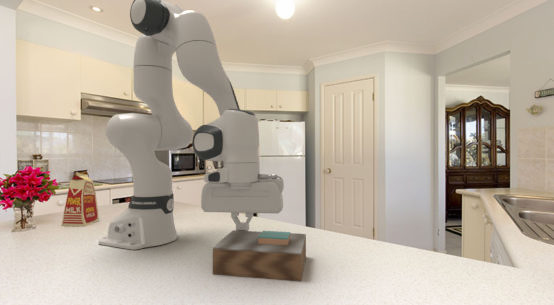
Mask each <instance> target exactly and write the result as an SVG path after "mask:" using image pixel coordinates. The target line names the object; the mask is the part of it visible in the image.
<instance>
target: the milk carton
mask: <svg viewBox="0 0 554 305" xmlns="http://www.w3.org/2000/svg"><path fill="white" fill-rule="evenodd" d="M65 200H66V201H65V205H64V209H63V214H62V215H63V216H62V220H61V221H62V222H61V227H86V226H87V227H88V226H90V225H93V224H95V223H96V222H99V221H100V219H99V207H98V201H97V194H96V188H95V183H94V180H92V179H91V178H90V177H89V175H88V174H85V173H82V172H81V173H80V172H79V171H76V172H75V175H74V176H73V177H72V178H71V179H70V183H69V185H68V191H67V194H66V199H65Z"/></svg>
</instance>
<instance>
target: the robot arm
mask: <svg viewBox="0 0 554 305" xmlns="http://www.w3.org/2000/svg"><path fill="white" fill-rule="evenodd" d="M129 10H130V12H129V18H130V22H131V25H132V26H133V28H134V29H135V30H136V31H138V32H139V33H140V34H141V35H139V36H138V38H137V41H136V43H135V48H134V55H133V66H132V67H133V69H132V70H133V76H132V77H133V80H132V82H133V90H132V91H133V93H134V95H135V96H136V98H137V99H138V100H140V102H142V103H144V104H145V105H147V107H148V108H149V110H150V112H151V114H146V113H145V114H144V113H136V112H129V113H128V112H127V113H120V114H119V113H118V114H114V115H112V117H110V119H109V120H108V121H107V123H106V127H105V136H106V138H107V140H108V142H109V144H111V146H112V147H114V148H116V149H117V150H118V151H119V152H120V153H121V154H122V155H124V157H125V158H126V160H127V162H128V164H129V165H130V168H131V173H132V182H133V183H132V184H133V195H131V196H130V197H128V198H125V203H128V206H127V208H126V209H125V210H123V211H122V212H121V213H119V214H118V215H117V216H115V218H113V219H112V220H111V221H110V222H109V224H108V225H109V226H108V229H107V235H105V236H103V237H101V238H100V239H98V244H99V245H103V246H108V247H115V248H121V249H126V250H132V251H134V250H140V249H143V248H148V247H149V248H150V247H155V246H160V245H161V246H162V245H165V244H169V243H172V242H174V241H176V240H177V239H178V234H177V233H178V232H177V230H176V223H175V218H174V206H175V204H174V203H175V201H174V193H173V172H172V169H171V167H170V166H169V165H168V164H167V163H164V162H162V161H160V160H159V159H158V158H157V156H156V153H155V151H176V150H181V149H185V148H187V147H188V146H189V145H191V142H192V149H193V152H194V154H195V155H196V156H197V158H198V159H199V160H202V161H205V162H223V167H222V168H218V169H215V170H213V171H211V172H208V173H205V174H204V176H203V179H204V183H205V184H204V185H203V186H202V190H201V195H200V196H201V197H200V198H201V199H200V205H201V207H200V208H201V210H202V211H203V212H204V213H230V217H231V219H232V221H233V223H234V225H235V230H236V231H250V222H251V221H252V218H253V217H254V214H280V213H281V212H282V211H283V209H284V199H283V191H284V184H285V183H284V179H283V177H281V176H279V175H278V174H275V173H272V174H267V173H266V174H265V173H262V174H261V173H260V158H259V153H258V152H259V147H260V134H259V133H260V132H259V123H258V118H257V116H256V114H255V113H254V112H252V111H251V110H245V109H241V108H240V105H239V101H238V99H237V96H236V93H235V90H234V87H233V85H232V82H231V81H230V78H229V77H228V75H227V74H226V71H225V69H224V67H223V64H222V62H221V59H220V58H221V57H220V56H219V52H218V49H217V43H216V40H215V36H214V34H213V33H214V32H213V30H212V28H211V26H210V23H209V20H208V18H207V17H206V16H205V14H203V13H201V12H200V11H197V10H192V9H191V10H186V9H185V10H184V9H183V8H181V7H180V6H178V5H177V4H176V5H175V4H172V3H170V2H168V1H165V0H133V2H132V3H131V5H130V9H129ZM174 54H175V55H176V60H177V65H178V67H179V70H180V72H181V74H182V76H183V77H184V78H185V80H187V81H188V82H189V83H190V84H192V85H193V86H195V87H197V88H199V89H201V91H203V92H204V93H206V94H207V95H208V96H209V97H211V99H212V100H213V101H214V103H215V105H216V107H217V109H218V113H219V116H220V117H218V118H216V119H215V120H212V121H210V122H209V123H206V124H202V125H199V127H198V128H197V129H196V130H195V131H194V132H193V128H192V126H191V124H190V123H189V121H188V120H187V119H186V118H184V116H183V115H182V114H181V112H180V110H179V109H178V107H177V105H176V102H175V98H174V94H173V93H174V92H173V56H174ZM240 213H241V214H245V218H247V219H246V221H245V222H243V221H242V222H241V221H240V219H239V217H238V216H239V215H240Z"/></svg>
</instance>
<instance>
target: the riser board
mask: <svg viewBox="0 0 554 305" xmlns="http://www.w3.org/2000/svg"><path fill="white" fill-rule="evenodd" d="M261 233H262V231H252V230H248V231H236V229H235V230H234V229H233V230H231V231H230V232H229V233H228V234H227V235H226V236H224V237H223V238H222V239H221V240H220V241H218V242H217V243H216V244H215V245H213V247H212V275H220V276H233V277H235V276H236V277H243V278H245V277H246V278H256V279H257V278H260V279H269V280H270V279H271V280H282V281H283V280H284V281H296V282H302V280H303V274H304V268H305V262H306V258H307V234H306V233H296V232H295V233H293V232H290V241H289V243H288V245H277V244H259V243H258V236H259V235H260V234H261Z"/></svg>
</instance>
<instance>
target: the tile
mask: <svg viewBox="0 0 554 305" xmlns="http://www.w3.org/2000/svg"><path fill="white" fill-rule="evenodd" d="M261 232H262V233H261V234H260V235H259V236H258V243H259V244H277V245H288V243H289V241H290V233H291V232H290V231H278V230H277V231H275V230H262V231H261Z"/></svg>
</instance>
